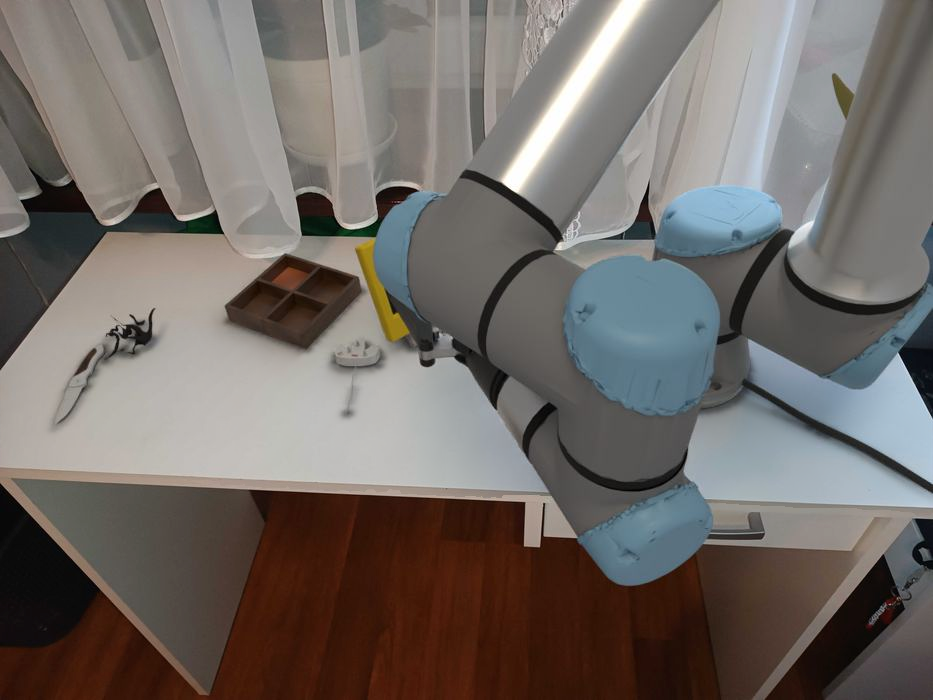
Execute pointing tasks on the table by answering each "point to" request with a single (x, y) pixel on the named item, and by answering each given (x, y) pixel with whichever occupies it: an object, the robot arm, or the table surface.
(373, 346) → the game controller
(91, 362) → the pocket knife
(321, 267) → the grid
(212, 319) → the table surface
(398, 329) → the yellow framed monitor
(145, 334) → the creature
